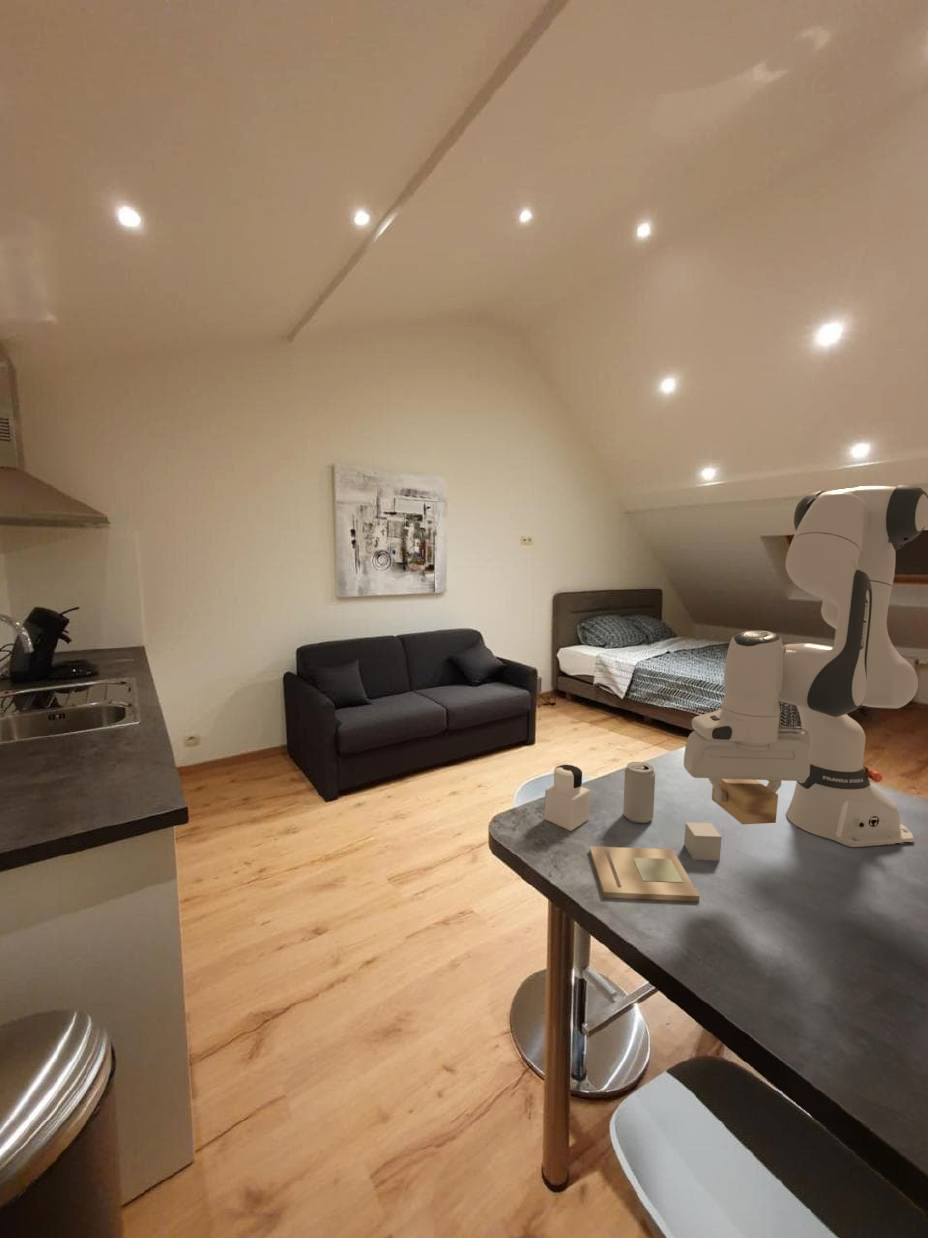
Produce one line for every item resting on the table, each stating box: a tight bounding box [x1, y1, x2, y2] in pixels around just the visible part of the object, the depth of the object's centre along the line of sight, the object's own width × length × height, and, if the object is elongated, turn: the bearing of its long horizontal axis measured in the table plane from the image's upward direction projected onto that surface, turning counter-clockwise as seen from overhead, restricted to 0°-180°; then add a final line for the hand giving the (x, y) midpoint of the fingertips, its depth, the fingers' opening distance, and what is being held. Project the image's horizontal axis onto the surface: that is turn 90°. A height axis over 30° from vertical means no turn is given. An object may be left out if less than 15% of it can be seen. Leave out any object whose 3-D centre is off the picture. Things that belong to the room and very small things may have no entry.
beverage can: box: [622, 761, 656, 824], centre depth 117 cm, size 6×6×12 cm
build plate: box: [589, 845, 700, 902], centre depth 97 cm, size 16×14×1 cm
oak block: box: [711, 779, 779, 825], centre depth 92 cm, size 6×9×5 cm, turn 6°
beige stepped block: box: [544, 764, 591, 832], centre depth 116 cm, size 7×7×12 cm
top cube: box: [683, 821, 722, 861], centre depth 104 cm, size 5×5×5 cm
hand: (742, 801), depth 93 cm, fingers closed on oak block, 6 cm apart
